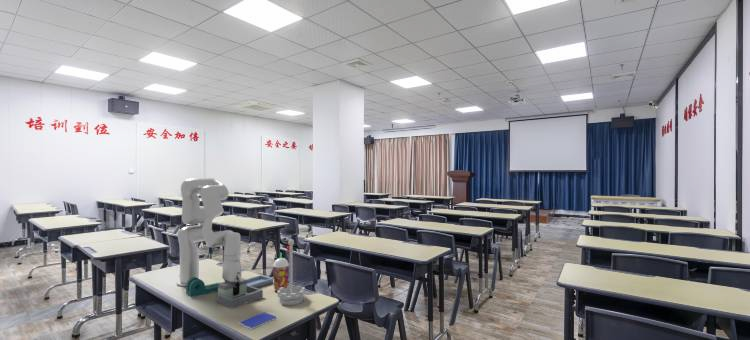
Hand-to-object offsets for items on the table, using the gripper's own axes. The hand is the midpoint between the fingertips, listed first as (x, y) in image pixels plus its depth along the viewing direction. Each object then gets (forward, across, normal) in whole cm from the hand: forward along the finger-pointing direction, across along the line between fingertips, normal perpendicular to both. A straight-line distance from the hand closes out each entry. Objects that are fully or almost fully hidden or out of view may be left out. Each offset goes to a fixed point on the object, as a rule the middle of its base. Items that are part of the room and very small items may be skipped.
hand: (232, 292), depth 176 cm
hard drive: (+2, +35, -10) cm, 36 cm away
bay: (+2, +7, 0) cm, 7 cm away
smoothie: (+2, +13, +20) cm, 24 cm away
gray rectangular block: (+1, 0, 0) cm, 1 cm away
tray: (+2, -6, +17) cm, 18 cm away
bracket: (+2, -18, -3) cm, 19 cm away
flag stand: (+2, +28, +14) cm, 31 cm away
